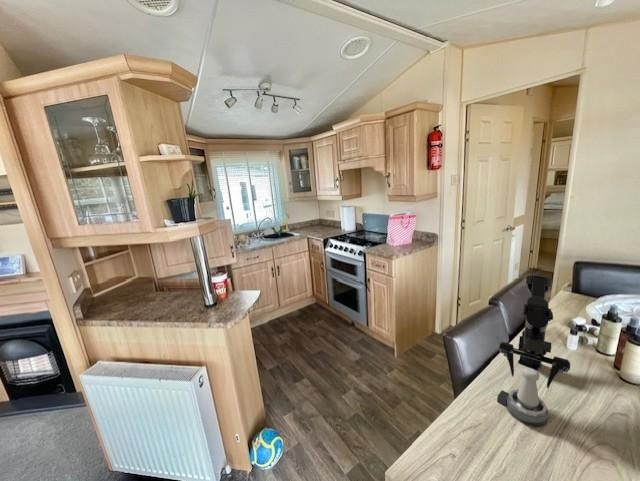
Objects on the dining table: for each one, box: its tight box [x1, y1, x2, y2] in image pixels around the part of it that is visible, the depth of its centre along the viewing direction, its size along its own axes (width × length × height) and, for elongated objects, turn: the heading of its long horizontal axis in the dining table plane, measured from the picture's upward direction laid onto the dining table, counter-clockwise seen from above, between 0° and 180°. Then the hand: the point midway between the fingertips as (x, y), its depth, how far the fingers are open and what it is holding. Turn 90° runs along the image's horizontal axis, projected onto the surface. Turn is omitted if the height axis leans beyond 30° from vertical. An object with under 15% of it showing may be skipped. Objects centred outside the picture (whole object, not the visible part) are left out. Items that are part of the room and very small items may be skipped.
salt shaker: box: [517, 367, 540, 409], centre depth 87 cm, size 6×6×13 cm
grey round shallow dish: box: [496, 389, 549, 428], centre depth 90 cm, size 13×11×4 cm
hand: (529, 381), depth 88 cm, fingers open, 9 cm apart
